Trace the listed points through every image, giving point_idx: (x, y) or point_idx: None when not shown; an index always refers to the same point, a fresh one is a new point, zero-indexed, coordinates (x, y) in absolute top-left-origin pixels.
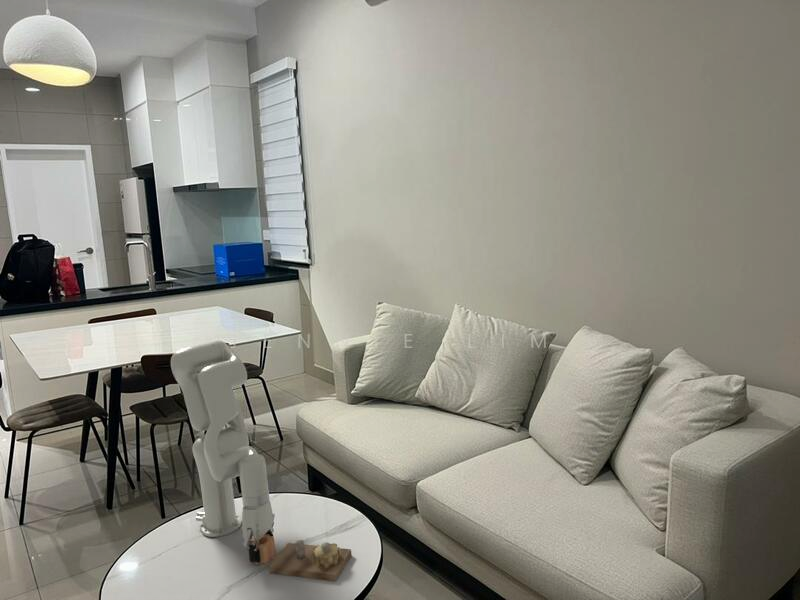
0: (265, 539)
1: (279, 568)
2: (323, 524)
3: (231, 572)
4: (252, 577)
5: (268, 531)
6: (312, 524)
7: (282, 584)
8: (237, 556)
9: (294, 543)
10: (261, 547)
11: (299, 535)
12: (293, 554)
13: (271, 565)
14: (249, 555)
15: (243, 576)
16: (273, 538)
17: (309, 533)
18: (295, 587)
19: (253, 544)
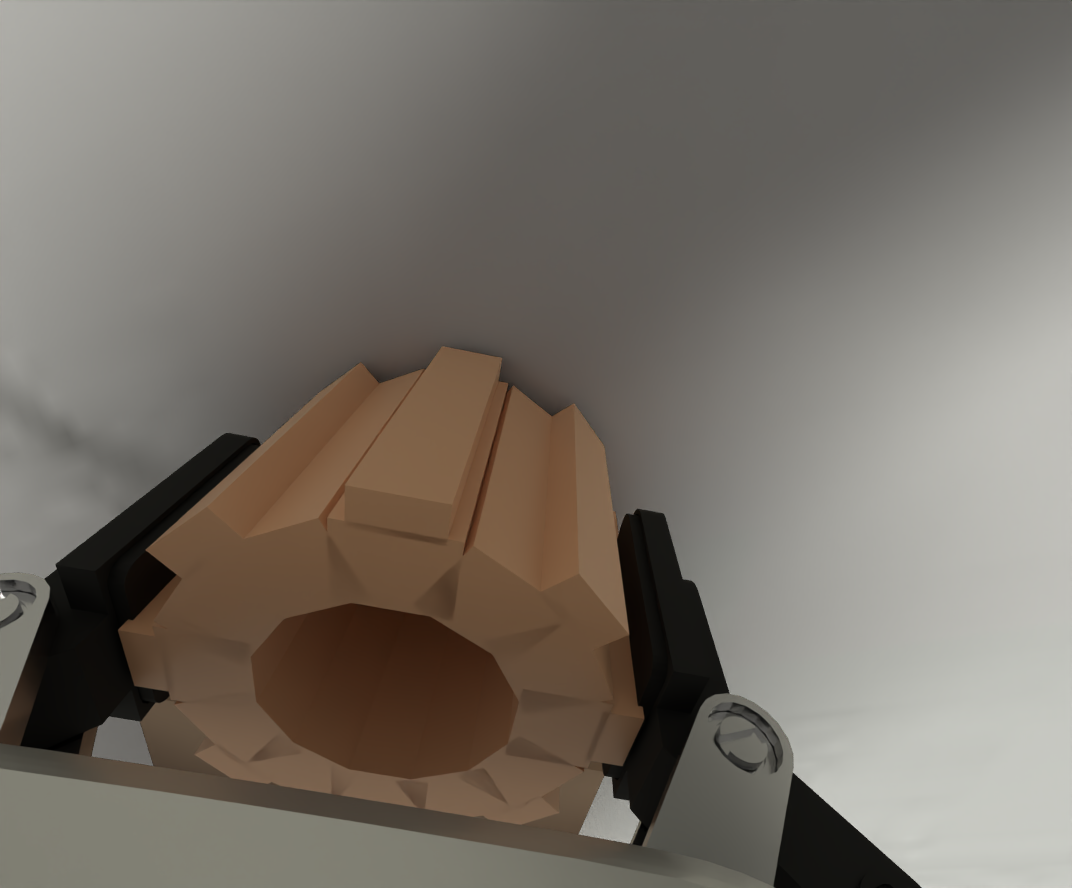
0: (511, 699)
1: (158, 762)
2: (986, 847)
3: (24, 170)
4: (70, 491)
5: (653, 809)
6: (1037, 790)
7: (105, 724)
8: (446, 90)
9: (585, 812)
10: (216, 724)
11: (855, 729)
12: None
13: (161, 709)
14: (163, 483)
15: (35, 386)
16: (498, 814)
17: (863, 786)
18: None
19: (228, 617)
